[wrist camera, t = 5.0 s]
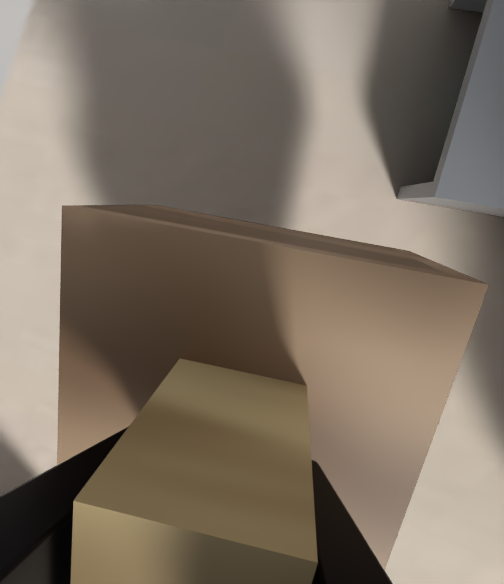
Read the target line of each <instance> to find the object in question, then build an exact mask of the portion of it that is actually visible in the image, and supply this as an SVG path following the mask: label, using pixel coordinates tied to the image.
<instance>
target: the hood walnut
mask: <svg viewBox="0 0 504 584" xmlns="http://www.w3.org/2000/svg"><path fill="white" fill-rule="evenodd" d="M488 286H489V285H488V284H486V283H484V282H481V281H479V280H477V279H474V278H472V277H469V276H467V275H465V274H462V273H460V272H458V271H455V270H453V269H450V268H448V267H446V266H443V265H441V264H439V263H436V262H434V261H431V260H429V259H427V258H424V257H422V256H420V255H417V254H415V253H412V252H410V251H406V250H401V249H395V248H390V247H384V246H379V245H373V244H368V243H362V242H356V241H351V240H345V239H340V238H334V237H329V236H323V235H318V234H312V233H307V232H301V231H296V230H290V229H285V228H279V227H274V226H268V225H263V224H257V223H251V222H246V221H240V220H235V219H229V218H224V217H218V216H213V215H207V214H202V213H196V212H191V211H185V210H180V209H174V208H169V207H163V206H158V205H84V206H62V235H61V289H60V343H59V397H58V451H57V465H58V464H60V463H62V462H64V461H66V460H68V459H69V458H71V457H73V456H75V455H77V454H79V453H81V452H82V451H84V450H86V449H88V448H90V447H92V446H93V445H95V444H97V443H99V442H101V441H103V440H104V439H106V438H108V437H110V436H112V435H114V434H115V433H117V432H119V431H121V430H123V429H125V428H126V427H128V426H129V427H128V428H127V430H126V431H125V432H124V434H123V435H122V436H121V438H120V439H119V440H118V442H117V443H116V444H115V446H114V447H113V448H112V450H111V451H110V452H109V454H108V455H107V457H106V458H105V459H104V461H103V462H102V463H101V465H100V466H99V467H98V469H97V470H96V471H95V473H94V474H93V475H92V477H91V478H90V479H89V481H88V482H87V483H86V485H85V486H84V487H83V489H82V490H81V491H80V493H79V494H78V495H77V497H76V498H75V499H74V501H73V528H72V556H71V584H312V581H313V577H314V574H315V570H316V567H317V564H318V558H317V542H316V525H315V509H314V493H313V477H312V460H314V461H316V462H317V463H318V464H319V465H320V467H321V469H322V470H323V472H324V473H325V475H326V477H327V478H328V480H329V481H330V483H331V485H332V486H333V488H334V490H335V491H336V493H337V494H338V496H339V498H340V499H341V501H342V503H343V504H344V506H345V507H346V509H347V511H348V512H349V514H350V515H351V517H352V519H353V520H354V522H355V524H356V525H357V527H358V528H359V530H360V532H361V533H362V535H363V536H364V538H365V540H366V541H367V543H368V545H369V546H370V548H371V549H372V551H373V553H374V554H375V556H376V558H377V559H378V561H379V562H380V564H381V566H382V567H383V569H384V570H385V567H386V565H387V562H388V559H389V556H390V554H391V551H392V548H393V546H394V543H395V540H396V537H397V535H398V532H399V529H400V526H401V524H402V521H403V518H404V516H405V513H406V510H407V507H408V505H409V502H410V499H411V496H412V494H413V491H414V488H415V486H416V483H417V480H418V477H419V475H420V472H421V469H422V466H423V464H424V461H425V458H426V456H427V453H428V450H429V447H430V445H431V442H432V439H433V436H434V434H435V431H436V428H437V426H438V423H439V420H440V417H441V415H442V412H443V409H444V406H445V404H446V401H447V398H448V396H449V393H450V390H451V387H452V385H453V382H454V379H455V376H456V374H457V371H458V368H459V366H460V363H461V360H462V357H463V355H464V352H465V349H466V346H467V344H468V341H469V338H470V335H471V333H472V330H473V327H474V325H475V322H476V319H477V316H478V314H479V311H480V308H481V305H482V303H483V300H484V297H485V295H486V292H487V289H488Z"/></svg>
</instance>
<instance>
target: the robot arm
mask: <svg viewBox="0 0 504 584" xmlns="http://www.w3.org/2000/svg"><path fill="white" fill-rule="evenodd" d="M128 427H129V426H128ZM128 427H126V428H125V429H123V430H121V431H119V432H117V433H115V434H114V435H112V436H110V437H108V438H106V439H104V440H103V441H101V442H99V443H97V444H95V445H93V446H92V447H90V448H88V449H86V450H84V451H82V452H81V453H79V454H77V455H75V456H73V457H71V458H69V459H68V460H66V461H64V462H62V463H60V464H58V465H57V466H55V467H53V468H51V469H49V470H47V471H46V472H44V473H42V474H40V475H38V476H36V477H35V478H33V479H31V480H29V481H27V482H25V483H24V484H22V485H20V486H18V487H16V488H14V489H13V490H11V491H9V492H7V493H5V494H3V495H2V496H0V584H71V556H72V528H73V501H74V499H75V498H76V497H77V495H78V494H79V493H80V491H81V490H82V489H83V487H84V486H85V485H86V483H87V482H88V481H89V479H90V478H91V477H92V475H93V474H94V473H95V471H96V470H97V469H98V467H99V466H100V465H101V463H102V462H103V461H104V459H105V458H106V457H107V455H108V454H109V452H110V451H111V450H112V448H113V447H114V446H115V444H116V443H117V442H118V440H119V439H120V438H121V436H122V435H123V434H124V432H125V431H126V430H127V428H128ZM312 477H313V493H314V509H315V525H316V542H317V558H318V564H317V567H316V570H315V574H314V577H313V581H312V584H393V583H392V582H391V580H390V579H389V577H388V575H387V574H386V572H385V570H384V569H383V567H382V566H381V564H380V562H379V561H378V559H377V558H376V556H375V554H374V553H373V551H372V549H371V548H370V546H369V545H368V543H367V541H366V540H365V538H364V536H363V535H362V533H361V532H360V530H359V528H358V527H357V525H356V524H355V522H354V520H353V519H352V517H351V515H350V514H349V512H348V511H347V509H346V507H345V506H344V504H343V503H342V501H341V499H340V498H339V496H338V494H337V493H336V491H335V490H334V488H333V486H332V485H331V483H330V481H329V480H328V478H327V477H326V475H325V473H324V472H323V470H322V469H321V467H320V465H319V464H318V463H317V462H316V461H314V460H312Z"/></svg>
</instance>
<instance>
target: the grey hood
mask: <svg viewBox="0 0 504 584" xmlns="http://www.w3.org/2000/svg"><path fill="white" fill-rule="evenodd" d="M449 8H452V9H460V10H468V11H476V12H483V16H482V19H481V22H480V26H479V29H478V32H477V36H476V39H475V43H474V46H473V49H472V53H471V56H470V59H469V63H468V66H467V69H466V73H465V76H464V80H463V83H462V86H461V90H460V93H459V96H458V100H457V103H456V107H455V110H454V113H453V117H452V120H451V123H450V127H449V130H448V134H447V137H446V140H445V144H444V147H443V150H442V154H441V157H440V161H439V164H438V167H437V171H436V174H435V177H434V181H433V182H427V183H421V184H415V185H408V186H402V187H400V189H399V193H398V196H397V199H400V200H406V201H412V202H418V203H424V204H430V205H436V206H441V207H447V208H453V209H459V210H465V211H471V212H477V213H482V214H488V215H494V216H500V217H504V0H451V2H450V6H449Z"/></svg>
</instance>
